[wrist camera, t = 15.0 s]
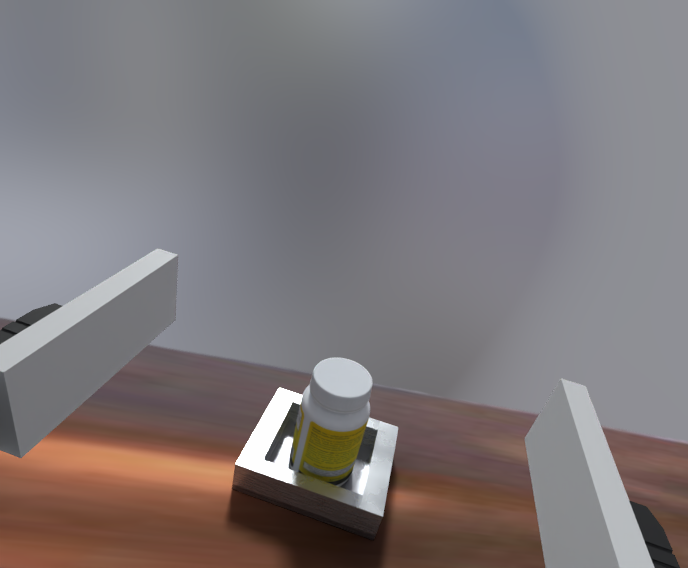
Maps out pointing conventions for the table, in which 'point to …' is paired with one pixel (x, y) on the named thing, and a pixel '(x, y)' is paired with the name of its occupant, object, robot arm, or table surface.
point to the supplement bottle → (331, 421)
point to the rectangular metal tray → (310, 493)
